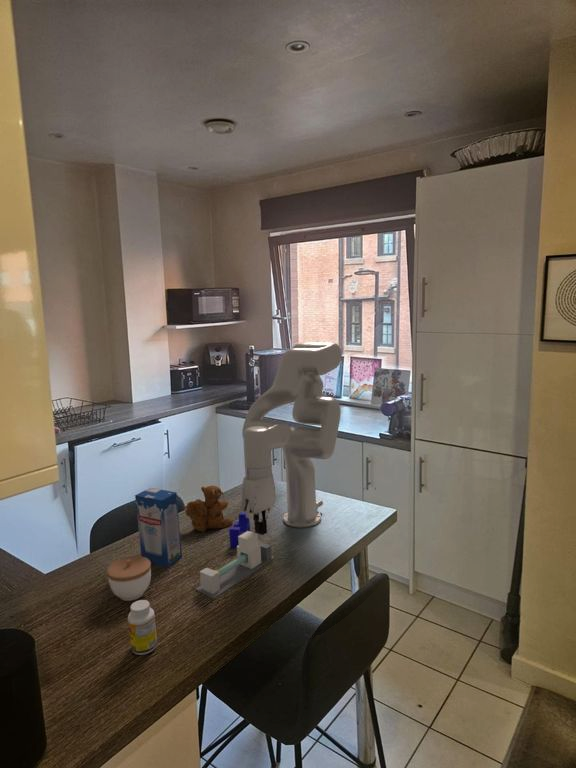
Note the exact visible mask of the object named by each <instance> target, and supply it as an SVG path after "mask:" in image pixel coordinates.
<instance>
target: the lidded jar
mask: <svg viewBox="0 0 576 768" xmlns="http://www.w3.org/2000/svg"><path fill="white" fill-rule="evenodd" d="M151 568H152V563H151V562H150V560H149V559H147V558H146V557H142V556H141V555H134V556H133V555H132V556H127V557H123V558H120V559H118V560H115V561H114V562H112V563H110V564H109V566H108V567H107V569H106V574H107V579H108V584H109V588H110V590H111V592H112V593H113V594H114V595H115V596H116V597H118V598H119V599H120V600H122V601H123V602H124V601H127V602H131V601H135V600H138V599H139V598H141V597H142V596H143V595H144V594H145V592H146V591H147V590H148V589H149V586H150V584H151V579H152V569H151Z"/></svg>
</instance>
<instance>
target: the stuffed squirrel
mask: <svg viewBox="0 0 576 768" xmlns="http://www.w3.org/2000/svg"><path fill="white" fill-rule="evenodd" d="M200 489H201V492H202V493H203V496H204V501H203V500H201V499H195V500H194V501H189V502H187V504H186V505H185V506H183V508H184V509H185V510H184V511H185V512H184V513H185V515H186V516H188V518H190V520H191V526H192V527H193V528H194V529H195V530H196V531H199V532H205V531H207V530H208V529H211V530H212V529H213V530H214V529H215V530H217V529H224V528H227V527H229V526H230V527H231V526H232V525H234V524H233V522H234V521H233V520H232V519H231V518H226V519H225V517H224V513H223V510H226V508H227V507H228V506H229V505H228V504H229V503H228V501H226V500H224V501H220V500H219V499H220V498H221V496H222V497H224V498H225V494H224V493H223V491H222V489H221V487H219V486H217V485H208V486H206V487H205V486H201V488H200Z"/></svg>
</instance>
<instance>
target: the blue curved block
mask: <svg viewBox="0 0 576 768" xmlns="http://www.w3.org/2000/svg"><path fill="white" fill-rule="evenodd" d="M250 520H251V519H247V518H246V512H244V511H242V512H240V511H239V513H238V520H236V521H234V524H233V526H230V528H229V529H228V531H229V533H228V534H229V547H230V548H234V549H237V546H238V545H239V542H238V536H240V535H242V534H243V533H245V532H247V531H250V532H251V523H250Z"/></svg>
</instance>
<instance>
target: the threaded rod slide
mask: <svg viewBox="0 0 576 768" xmlns="http://www.w3.org/2000/svg"><path fill="white" fill-rule="evenodd" d="M258 545H260V548H261V563H260V564H259V565H257V566H256V567H254V568H253V569H250V568H248V567H245V566H243V565H240V564H241V563H243V562H244V561H246V560H248V554H243V555H241V556H240V557H236V558H235V559H233V560H232V561H230V562H228V563H227V564H225V565H223V566H222V567H220V568H219V569H211V568H209V567H205V568H203V569H202V570H200V571H199V580H200V585H199V586H196V587H195V589H194V590H195V591H197V592H199V593H201V594H203V595H205V596H208V597H210V598H212V599H214V600H215V599H216V598H218V597H220V596H221V595H222V594H224V593H226V592H227V591H228V590H230V589H231V588H232V587H235V586H236V585H237V584H239V583H240V582H242V581H244V580H245V579H246V578H248V577H249V576H251V575H252V574H254V573H255V572H256V571H258V570H259V569H261V568H263V567H264V566H266V565H268V564H269V563H270V562H272V561H273V560H275V559H276V556H274V555H272V545H271V544H269V543H264V542H262V541H260V540H258Z"/></svg>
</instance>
